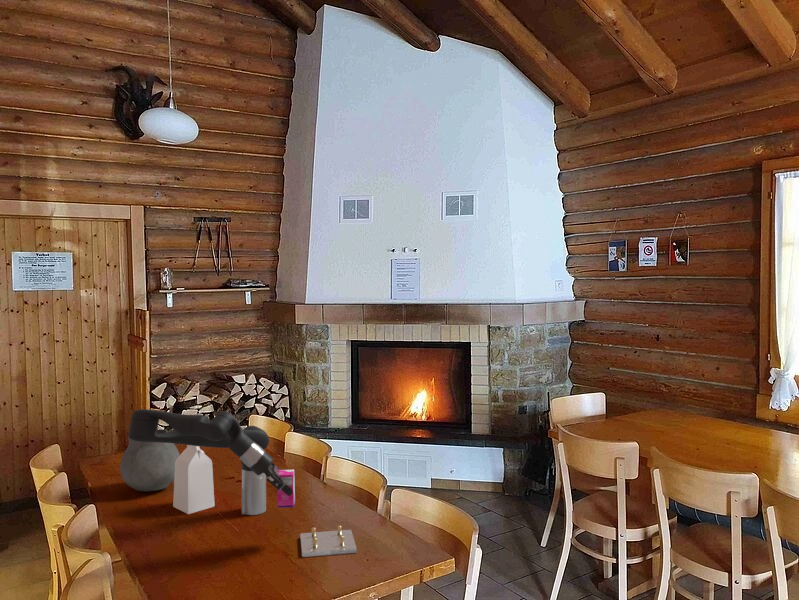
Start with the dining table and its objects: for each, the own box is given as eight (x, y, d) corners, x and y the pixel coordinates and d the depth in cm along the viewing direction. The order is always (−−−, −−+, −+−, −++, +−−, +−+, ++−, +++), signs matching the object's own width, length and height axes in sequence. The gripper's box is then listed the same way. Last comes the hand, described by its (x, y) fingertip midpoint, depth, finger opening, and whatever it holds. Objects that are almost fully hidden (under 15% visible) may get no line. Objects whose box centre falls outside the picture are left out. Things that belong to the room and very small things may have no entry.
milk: (173, 506, 250) (172, 442, 249) (199, 499, 258) (198, 437, 258) (188, 514, 242) (187, 447, 241) (214, 506, 250) (214, 442, 250)
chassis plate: (302, 557, 204) (301, 543, 204) (300, 537, 220) (300, 525, 220) (356, 552, 207) (356, 539, 207) (351, 533, 223) (351, 521, 223)
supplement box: (278, 501, 218) (278, 469, 218) (295, 501, 219) (295, 469, 218) (276, 507, 213) (276, 474, 212) (293, 507, 213) (293, 474, 213)
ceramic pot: (136, 480, 283) (135, 425, 283) (189, 480, 283) (188, 426, 282) (109, 498, 259) (108, 439, 258) (167, 499, 258) (166, 439, 257)
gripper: (249, 459, 220) (283, 491, 222) (246, 472, 206) (283, 506, 208) (264, 444, 221) (298, 475, 223) (263, 456, 206) (299, 489, 209)
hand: (291, 490), depth 216 cm, fingers closed on supplement box, 6 cm apart
